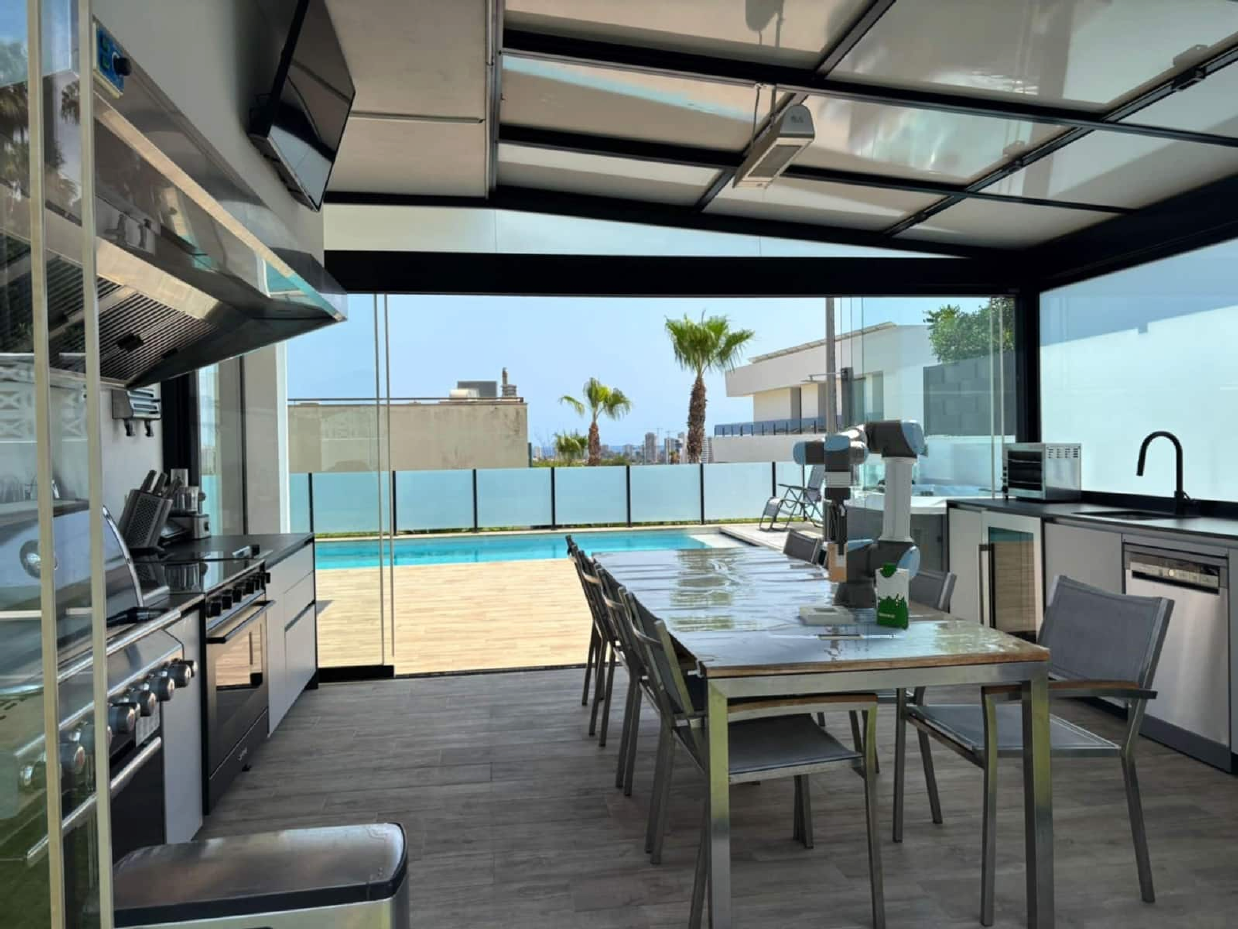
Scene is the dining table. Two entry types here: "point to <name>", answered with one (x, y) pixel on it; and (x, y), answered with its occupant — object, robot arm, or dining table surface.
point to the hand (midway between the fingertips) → (837, 564)
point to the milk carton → (892, 596)
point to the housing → (826, 615)
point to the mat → (840, 637)
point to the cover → (835, 572)
